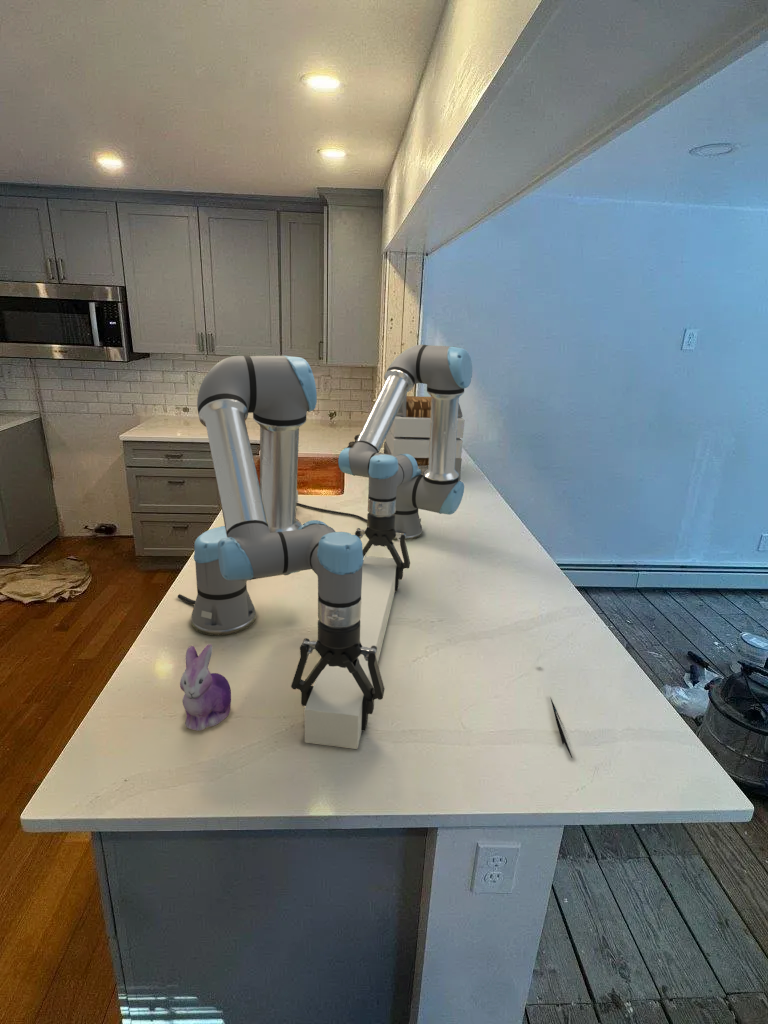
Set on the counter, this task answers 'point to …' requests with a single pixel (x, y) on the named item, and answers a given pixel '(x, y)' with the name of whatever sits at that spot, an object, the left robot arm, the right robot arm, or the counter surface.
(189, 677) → the figurine
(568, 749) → the feather
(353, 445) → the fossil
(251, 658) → the counter surface
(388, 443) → the white slatted box
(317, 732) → the thick board
